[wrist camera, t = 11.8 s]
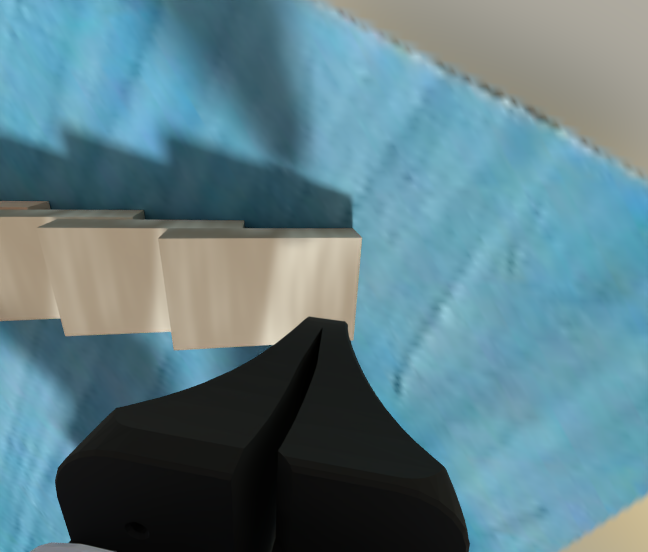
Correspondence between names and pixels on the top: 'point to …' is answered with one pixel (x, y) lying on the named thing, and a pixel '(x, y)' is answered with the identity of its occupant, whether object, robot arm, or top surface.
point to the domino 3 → (256, 282)
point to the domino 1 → (34, 260)
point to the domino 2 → (111, 272)
